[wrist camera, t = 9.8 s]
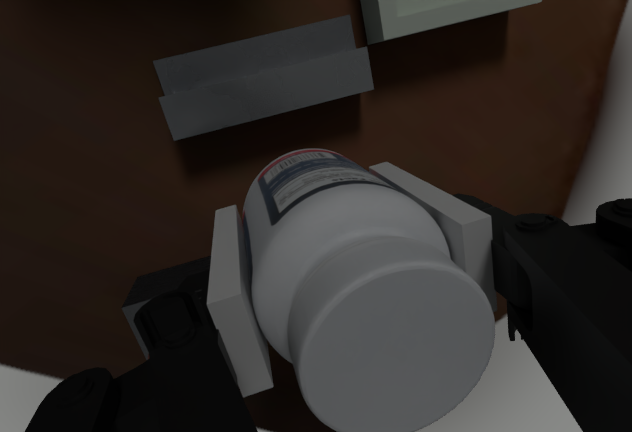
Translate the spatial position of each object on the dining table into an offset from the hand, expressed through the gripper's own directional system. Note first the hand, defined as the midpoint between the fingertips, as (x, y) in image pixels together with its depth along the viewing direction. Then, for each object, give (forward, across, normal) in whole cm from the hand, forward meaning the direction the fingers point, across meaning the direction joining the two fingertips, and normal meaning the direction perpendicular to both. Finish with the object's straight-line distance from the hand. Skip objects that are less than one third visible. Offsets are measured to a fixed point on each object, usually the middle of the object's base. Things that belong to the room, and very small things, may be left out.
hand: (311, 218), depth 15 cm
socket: (+12, +1, 0) cm, 12 cm away
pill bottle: (+1, 0, 0) cm, 1 cm away
